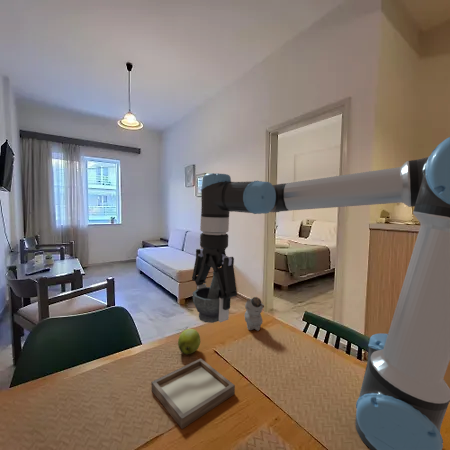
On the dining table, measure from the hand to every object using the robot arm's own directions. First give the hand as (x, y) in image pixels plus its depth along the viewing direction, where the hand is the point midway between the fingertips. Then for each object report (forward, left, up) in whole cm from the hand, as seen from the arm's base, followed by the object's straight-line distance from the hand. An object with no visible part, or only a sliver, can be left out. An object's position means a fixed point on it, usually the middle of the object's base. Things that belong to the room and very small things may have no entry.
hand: (211, 313), depth 70 cm
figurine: (+16, -36, -23) cm, 45 cm away
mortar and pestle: (0, 0, -1) cm, 1 cm away
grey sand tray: (+3, +4, -23) cm, 23 cm away
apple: (+20, -6, -23) cm, 31 cm away
